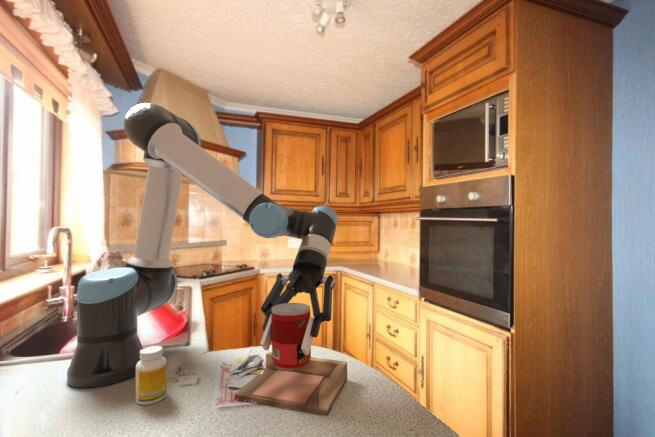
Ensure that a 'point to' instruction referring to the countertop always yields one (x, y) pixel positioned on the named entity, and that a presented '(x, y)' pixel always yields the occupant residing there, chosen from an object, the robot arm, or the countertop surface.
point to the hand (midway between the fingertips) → (284, 349)
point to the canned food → (289, 334)
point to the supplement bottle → (150, 376)
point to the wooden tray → (298, 386)
